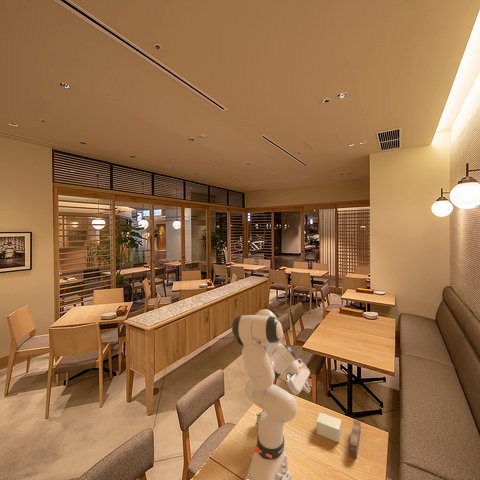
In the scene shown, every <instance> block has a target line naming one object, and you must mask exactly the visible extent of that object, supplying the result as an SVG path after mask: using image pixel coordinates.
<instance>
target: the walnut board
mask: <svg viewBox="0 0 480 480" xmlns="http://www.w3.org/2000/svg"><path fill="white" fill-rule="evenodd" d="M361 424H362V423H361V421H359V420H356V419H353V425H352V429H351V435H350V440H349V457H352V458H354V459H358V457H357V456H358V453H359V445H360V444H359V443H360V438H361V433H362V432H361V428H362V427H361Z"/></svg>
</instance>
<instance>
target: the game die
mask: <svg viewBox="0 0 480 480" xmlns="http://www.w3.org/2000/svg"><path fill="white" fill-rule="evenodd" d="M264 413H266V412H265V411H264V410H263V409H262V411H260V412H259V413H256V414H255V415H256V422H255V425H258V421H259V418H260V417H261V415H262V414H264Z"/></svg>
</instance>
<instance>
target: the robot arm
mask: <svg viewBox="0 0 480 480" xmlns="http://www.w3.org/2000/svg"><path fill="white" fill-rule="evenodd" d="M231 332H232V335H233V336H234V338H235V340H236V341H237V344H238V345H240V346H243V347H242V350H241V357H242V362H243V366H244V368H245V369H244V370H245V371H246V374H247V377H248V379H247V380H246V383H245V386H244V392H245V393H244V394H245V396H246V397H247V398H248V399H249V400H250V402H251V403H253V404H254V405H255V406H257V407H258V408H260V409H262V411H263V410H264V411H265V412H266V413H264V414H262V415H261V417H260V418H259V421H258V424H257V429H258V430H257V431H258V435H257V439H256V445H255V446H254V449H253V452H254V454H253V455H252V458H251V461H250V465H249V467H248V469H247V473H246V475H245V478H246V477H247V478H246V479H249V480H291V479H292V477H293V476H292V472H291V470H290V469H289V461H288V456H287V453H286V450H285V438H284V425H285V423H289V422H291V421H292V420H294V418H295V416H296V414H297V413H298V412H297V410H298V403H297V399H296V398H295V397H294V396H297V395H298V394H300V393H301V391H304V392H305V393H306V394H310V392H311V390H312V388H311V387H310V385H309V382H308V378H309V377H310V374H311V371H310V369H309V368H308V367H307V365H306V364H305V363H304V362H303V361H302V359H301V358H298V359H296V356H297V355H296V352H295V351H294V349H293V348H292V347H291V346H290V345H289V344H282V343H281V342H282V339H283V337H284V331H283V325H282V322H281V320H280V319H279V318H278V317H277V316H276V314H274V313H273V312H272V311H271V310H270V309H266V308H264V309H261V310H259V311H258V312H256V314H248V315H246V314H245V315H244V314H240V315H238V316H235V318H234V319H233V320H232V325H231ZM283 373H285V375H286V377H285V380H286V381H285V382H286V384H287V386H288V388H289V390H290V391H291V392H292V394H291V393H290V392H288V391H287V389H286V390H285V389H283V388H282V387H280V386H278V385H276V384H274V381H275V380H276V379H278V378H279V377H280V376H281V375H282V374H283ZM248 474H249V475H248ZM246 479H244V480H246Z"/></svg>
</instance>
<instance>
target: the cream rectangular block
mask: <svg viewBox="0 0 480 480" xmlns="http://www.w3.org/2000/svg"><path fill="white" fill-rule="evenodd" d="M316 434H317V435H319V436H322V437H324V438H326V439H329V440H332V441H334V442H336V443H340V440H341V436H342V419H341V418H337V417H334V416H331V415H329V414H326V413H323V412H319V413H318V416H317V420H316Z"/></svg>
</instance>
